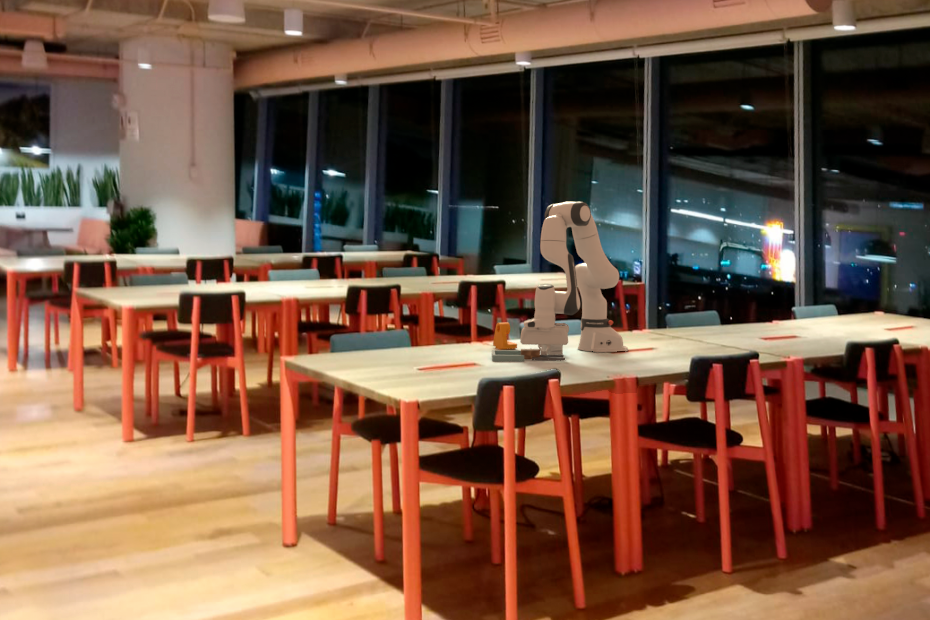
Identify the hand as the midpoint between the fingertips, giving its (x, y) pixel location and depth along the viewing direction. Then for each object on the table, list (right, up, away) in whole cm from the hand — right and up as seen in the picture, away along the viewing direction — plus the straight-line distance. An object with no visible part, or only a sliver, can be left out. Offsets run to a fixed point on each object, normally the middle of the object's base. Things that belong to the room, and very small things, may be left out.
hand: (543, 355), depth 435 cm
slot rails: (+2, -2, 0) cm, 2 cm away
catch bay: (-15, -2, +1) cm, 15 cm away
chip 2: (-4, -2, 0) cm, 4 cm away
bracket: (-15, +1, +29) cm, 33 cm away
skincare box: (+5, 0, +17) cm, 18 cm away
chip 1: (-8, -2, 0) cm, 8 cm away
